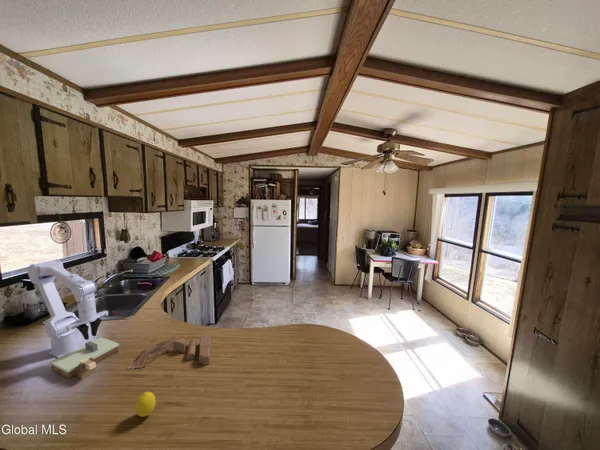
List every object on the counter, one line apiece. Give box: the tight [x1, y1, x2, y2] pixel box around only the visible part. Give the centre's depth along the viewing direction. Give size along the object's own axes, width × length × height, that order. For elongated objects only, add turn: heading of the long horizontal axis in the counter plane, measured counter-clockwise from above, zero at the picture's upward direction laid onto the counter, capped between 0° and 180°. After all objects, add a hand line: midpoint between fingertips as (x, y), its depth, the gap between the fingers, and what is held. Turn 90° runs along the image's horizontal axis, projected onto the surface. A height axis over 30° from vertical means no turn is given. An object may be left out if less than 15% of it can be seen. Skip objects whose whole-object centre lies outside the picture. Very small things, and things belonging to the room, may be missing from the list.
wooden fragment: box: [126, 335, 179, 370], centre depth 109 cm, size 26×11×1 cm, turn 158°
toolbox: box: [51, 346, 119, 380], centre depth 101 cm, size 18×18×6 cm
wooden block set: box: [172, 334, 212, 366], centre depth 105 cm, size 17×6×18 cm
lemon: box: [135, 391, 157, 418], centre depth 76 cm, size 6×6×8 cm
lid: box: [49, 336, 120, 373], centre depth 102 cm, size 14×19×4 cm
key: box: [80, 358, 97, 370], centre depth 93 cm, size 7×2×2 cm, turn 68°
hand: (90, 337), depth 103 cm, fingers open, 2 cm apart
